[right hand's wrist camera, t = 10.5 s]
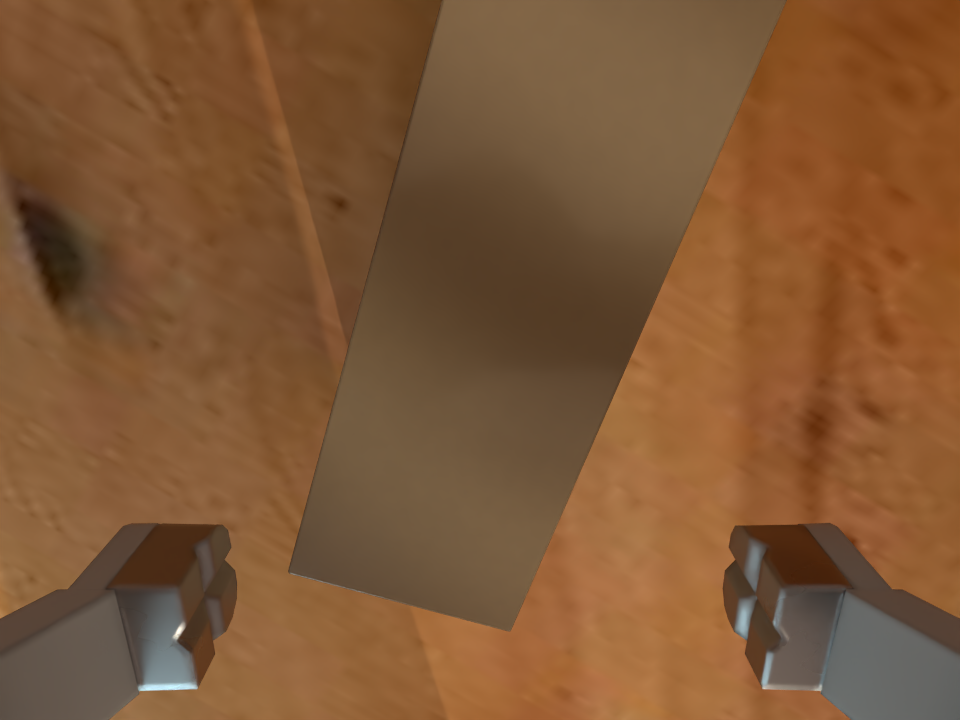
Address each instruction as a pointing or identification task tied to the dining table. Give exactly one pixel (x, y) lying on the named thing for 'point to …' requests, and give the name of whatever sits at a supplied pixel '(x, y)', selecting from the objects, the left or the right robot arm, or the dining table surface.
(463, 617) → the cabinet
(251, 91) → the dining table surface
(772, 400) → the dining table surface
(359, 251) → the dining table surface
